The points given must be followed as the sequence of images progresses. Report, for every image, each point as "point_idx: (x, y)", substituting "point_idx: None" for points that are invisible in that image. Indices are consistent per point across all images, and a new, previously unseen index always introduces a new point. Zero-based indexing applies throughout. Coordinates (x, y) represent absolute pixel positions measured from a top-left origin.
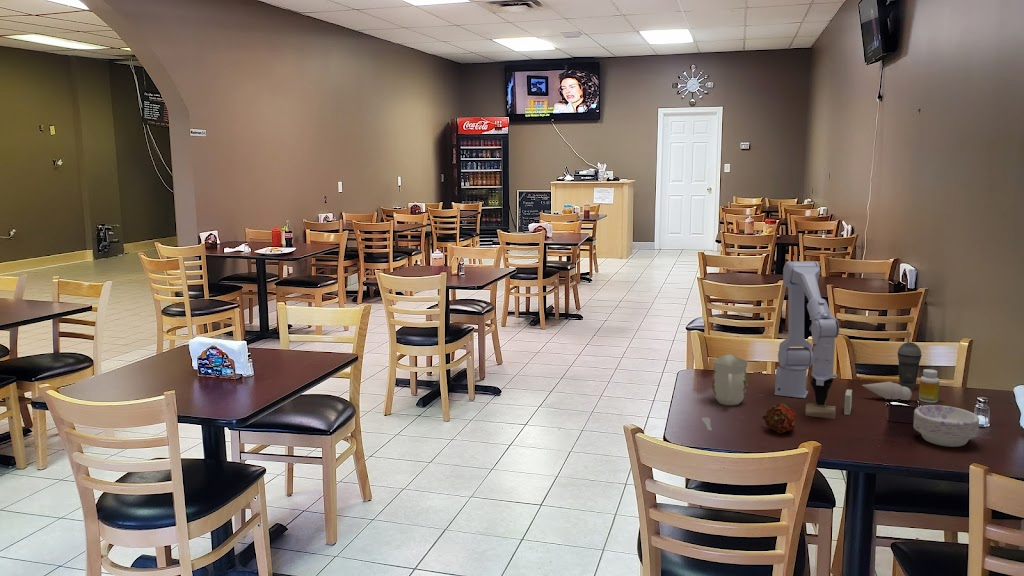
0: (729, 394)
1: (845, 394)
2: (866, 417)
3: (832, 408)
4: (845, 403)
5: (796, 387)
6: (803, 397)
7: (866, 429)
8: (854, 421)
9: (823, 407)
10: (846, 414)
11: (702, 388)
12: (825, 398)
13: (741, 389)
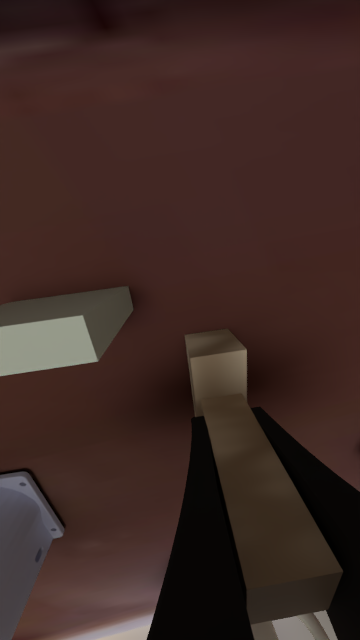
0: (318, 621)
1: (70, 364)
2: (114, 195)
3: (237, 362)
4: (117, 325)
5: (2, 547)
6: (28, 477)
7: (333, 157)
8: (221, 243)
9: (242, 398)
10: (130, 299)
11: (133, 610)
12: (297, 442)
13: (257, 630)
